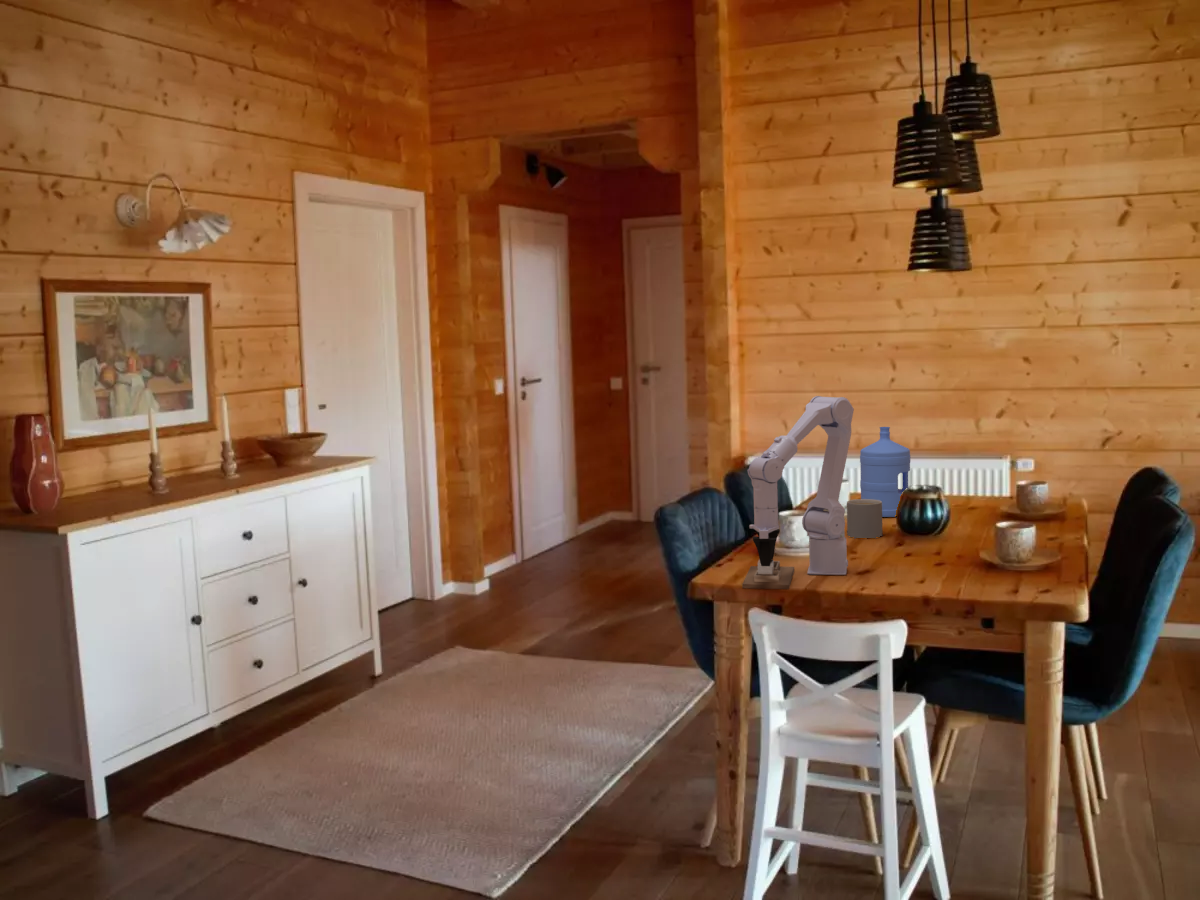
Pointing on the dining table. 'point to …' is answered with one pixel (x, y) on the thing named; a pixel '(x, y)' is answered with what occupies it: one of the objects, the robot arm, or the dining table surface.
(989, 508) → the dining table surface
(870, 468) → the water jug
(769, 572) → the square peg
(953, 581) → the dining table surface
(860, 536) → the coffee mug
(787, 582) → the socket board
